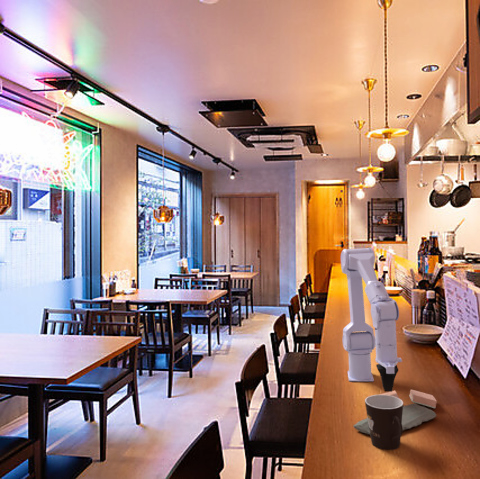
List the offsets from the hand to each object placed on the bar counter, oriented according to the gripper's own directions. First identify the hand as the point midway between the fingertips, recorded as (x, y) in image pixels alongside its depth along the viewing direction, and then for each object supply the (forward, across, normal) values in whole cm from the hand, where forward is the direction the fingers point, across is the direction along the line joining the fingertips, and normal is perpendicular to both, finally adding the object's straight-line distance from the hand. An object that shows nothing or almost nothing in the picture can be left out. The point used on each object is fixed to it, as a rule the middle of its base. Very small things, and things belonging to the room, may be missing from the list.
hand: (388, 390), depth 126 cm
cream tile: (+2, +2, 0) cm, 3 cm away
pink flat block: (+2, +3, -9) cm, 10 cm away
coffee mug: (+4, -24, +4) cm, 25 cm away
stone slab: (+4, -12, 0) cm, 13 cm away
